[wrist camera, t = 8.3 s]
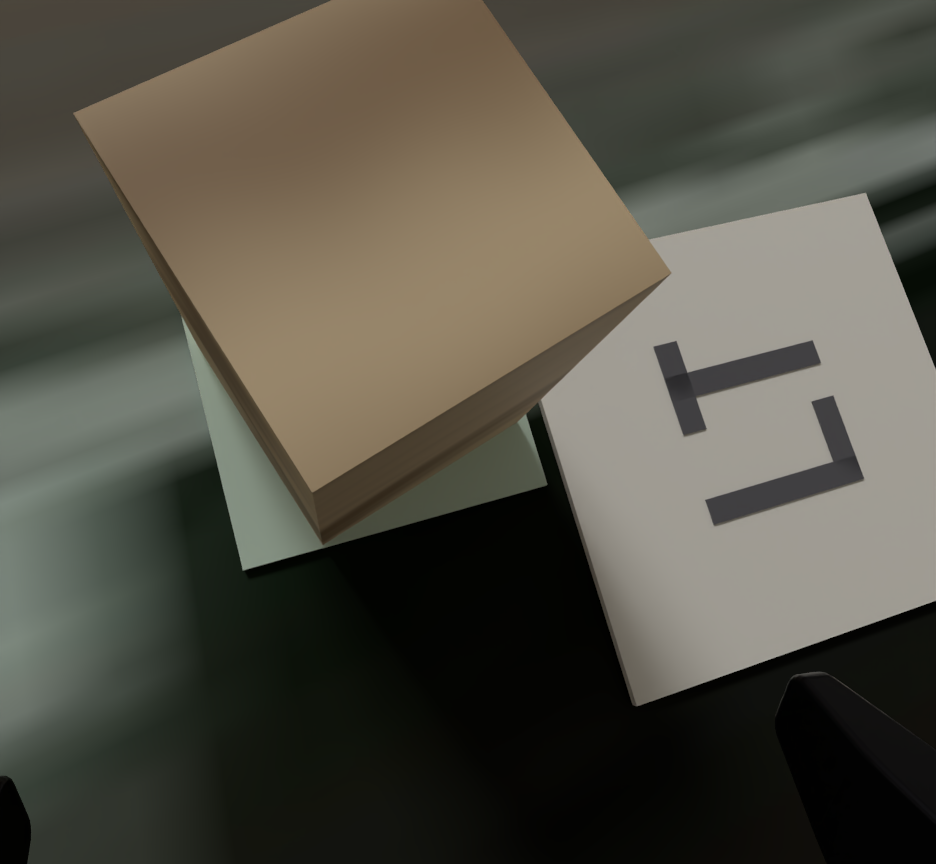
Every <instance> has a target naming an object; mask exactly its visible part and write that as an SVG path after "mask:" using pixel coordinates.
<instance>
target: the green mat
mask: <svg viewBox="0 0 936 864" xmlns="http://www.w3.org/2000/svg"><path fill="white" fill-rule="evenodd" d="M182 320H183V325H184V329H185V333H186V337H187V341H188V345H189V349H190V353H191V358H192V362H193V366H194V370H195V374H196V378H197V382H198V386H199V391H200V395H201V399H202V403H203V407H204V411H205V415H206V419H207V424H208V428H209V432H210V436H211V440H212V444H213V448H214V452H215V457H216V461H217V465H218V469H219V473H220V477H221V481H222V485H223V490H224V494H225V498H226V502H227V506H228V510H229V514H230V518H231V523H232V527H233V531H234V535H235V539H236V543H237V547H238V551H239V556H240V560H241V564H242V568H243V570H248V569H251V568H255V567H258V566H262V565H265V564H269V563H273V562H276V561H280V560H283V559H287V558H290V557H294V556H297V555H301V554H305V553H308V552H312V551H315V550H319V549H322V548H326V547H330V546H333V545H337V544H340V543H344V542H347V541H351V540H355V539H358V538H362V537H365V536H369V535H372V534H376V533H380V532H383V531H387V530H390V529H394V528H397V527H401V526H404V525H408V524H412V523H415V522H419V521H422V520H426V519H429V518H433V517H437V516H440V515H444V514H447V513H451V512H454V511H458V510H462V509H465V508H469V507H472V506H476V505H479V504H483V503H486V502H490V501H494V500H497V499H501V498H504V497H508V496H511V495H515V494H519V493H522V492H526V491H529V490H533V489H536V488H540V487H544V486H546V485H547V482H546V478H545V475H544V472H543V469H542V465H541V462H540V459H539V456H538V452H537V449H536V446H535V443H534V439H533V436H532V433H531V430H530V426H529V423H528V420H527V417H526V414H525V415H524V416H523V417H522V418H521V419H520V420H519V421H518V422H517V423H515V424H514V425H512V426H510V427H509V428H507V429H506V430H504V431H503V432H501V433H499V434H498V435H496V436H495V437H493V438H491V439H490V440H488V441H487V442H485V443H484V444H482V445H480V446H479V447H477V448H476V449H474V450H472V451H471V452H469V453H468V454H466V455H465V456H463V457H461V458H460V459H458V460H457V461H455V462H453V463H452V464H450V465H449V466H447V467H446V468H444V469H442V470H441V471H439V472H438V473H436V474H435V475H433V476H431V477H430V478H428V479H427V480H425V481H423V482H422V483H420V484H419V485H417V486H416V487H414V488H412V489H411V490H409V491H408V492H406V493H404V494H403V495H401V496H400V497H398V498H397V499H395V500H393V501H392V502H390V503H389V504H387V505H386V506H384V507H382V508H381V509H379V510H378V511H376V512H374V513H373V514H371V515H370V516H368V517H367V518H365V519H363V520H362V521H360V522H359V523H357V524H355V525H354V526H352V527H351V528H349V529H348V530H346V531H344V532H343V533H341V534H340V535H338V536H337V537H335V538H333V539H332V540H330V541H329V542H327V543H325V544H324V545H322V543H321V542H320V540H319V539H318V537H317V535H316V534H315V532H314V531H313V529H312V527H311V526H310V524H309V523H308V521H307V519H306V518H305V516H304V515H303V513H302V511H301V510H300V508H299V507H298V505H297V504H296V502H295V500H294V499H293V497H292V496H291V494H290V492H289V491H288V489H287V488H286V486H285V484H284V483H283V481H282V480H281V478H280V476H279V475H278V473H277V472H276V470H275V468H274V467H273V465H272V464H271V462H270V460H269V459H268V457H267V456H266V454H265V452H264V451H263V449H262V448H261V446H260V445H259V443H258V441H257V440H256V438H255V437H254V435H253V433H252V432H251V430H250V429H249V427H248V425H247V424H246V422H245V421H244V419H243V417H242V416H241V414H240V413H239V411H238V409H237V408H236V406H235V405H234V403H233V401H232V400H231V398H230V397H229V395H228V394H227V392H226V390H225V389H224V387H223V386H222V384H221V382H220V381H219V379H218V378H217V376H216V374H215V373H214V371H213V370H212V368H211V366H210V365H209V363H208V362H207V360H206V358H205V357H204V355H203V354H202V352H201V350H200V349H199V347H198V346H197V344H196V342H195V340H194V338H193V336H192V334H191V333H190V331H189V329H188V327H187V325H186V323H185V321H184V319H183V318H182Z"/></svg>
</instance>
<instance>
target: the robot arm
mask: <svg viewBox="0 0 936 864" xmlns="http://www.w3.org/2000/svg"><path fill="white" fill-rule="evenodd" d="M775 729H776V733H777V737H778V740H779V742H780V745H781V747H782V750H783V753H784V755H785V758H786V761H787V763H788V766H789V768H790V771H791V774H792V776H793V779H794V782H795V784H796V787H797V789H798V792H799V795H800V797H801V800H802V803H803V805H804V808H805V810H806V813H807V816H808V818H809V821H810V823H811V826H812V829H813V831H814V834H815V837H816V839H817V841H818V844H819V846H820V849H821V851H822V853H823V856H824V858H825V860H826V862H827V864H936V750H935V749H934V748H932V747H931V746H930V745H928V744H927V743H925V742H924V741H923V740H921V739H920V738H918V737H917V736H916V735H914V734H913V733H911V732H910V731H909V730H907V729H906V728H904V727H903V726H902V725H900V724H899V723H897V722H896V721H894V720H893V719H892V718H890V717H889V716H887V715H886V714H885V713H883V712H882V711H880V710H879V709H878V708H876V707H875V706H873V705H872V704H871V703H869V702H868V701H866V700H865V699H864V698H862V697H861V696H859V695H858V694H857V693H855V692H854V691H852V690H851V689H850V688H848V687H847V686H845V685H844V684H843V683H841V682H840V681H838V680H837V679H836V678H834V677H833V676H831V675H829V674H827V673H824V672H813V673H805V674H797V675H795V676H793V677H792V678H791V679H790V681H789V682H788V685H787V687H786V690H785V692H784V695H783V698H782V700H781V703H780V705H779V708H778V710H777V713H776V716H775ZM30 841H31V825H30V820H29V817H28V814H27V812H26V810H25V807H24V805H23V803H22V800H21V798H20V796H19V793H18V791H17V789H16V786H15V784H14V782H13V781H12V779H11V778H9V777H7V776H0V864H27V861H28V855H29V848H30Z"/></svg>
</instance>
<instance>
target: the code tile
mask: <svg viewBox="0 0 936 864" xmlns="http://www.w3.org/2000/svg"><path fill="white" fill-rule="evenodd" d="M649 241H650V242H651V244H652V245H653V247H654V248H655V250H656V251H657V253H658V254H659V255H660V257H661V258H662V260H663V261H664V263H665V264H666V266H667V267H668V268H669V270H670V271H671V274H670V275H669V276H668V277H667V278H666V279H665V280H664V281H663V282H662V283H661V284H660V285H659V286H658V287H657V288H656V289H655V290H654V291H653V292H652V293H651V294H650V295H648V296H647V297H646V298H645V299H644V300H643V301H642V302H641V303H640V304H639V305H638V306H637V307H636V308H635V309H634V310H633V311H632V312H631V313H630V314H629V315H628V316H627V317H626V318H625V319H624V320H623V321H622V322H621V323H619V324H618V325H617V326H616V327H615V328H614V329H613V330H612V331H611V332H610V333H609V334H608V335H607V336H606V337H605V338H604V339H603V340H602V341H601V342H600V343H599V344H598V345H597V346H596V347H595V348H594V349H593V350H592V351H590V352H589V353H588V354H587V355H586V356H585V357H584V358H583V359H582V360H581V361H580V362H579V363H578V364H577V365H576V366H575V367H574V368H573V369H572V370H571V371H570V372H569V373H568V374H567V375H566V376H565V377H564V378H563V379H561V380H560V381H559V382H558V383H557V384H556V385H555V386H554V387H553V388H552V389H551V390H550V391H549V392H548V393H547V394H546V395H545V396H544V397H543V398H542V399H541V400H540V401H539V402H538V403H539V406H540V409H541V413H542V416H543V419H544V422H545V426H546V429H547V432H548V435H549V438H550V442H551V445H552V448H553V451H554V454H555V458H556V461H557V464H558V467H559V470H560V474H561V477H562V480H563V483H564V487H565V490H566V493H567V496H568V499H569V503H570V506H571V509H572V512H573V515H574V519H575V522H576V525H577V528H578V531H579V535H580V538H581V541H582V544H583V547H584V551H585V554H586V557H587V560H588V564H589V567H590V570H591V573H592V576H593V580H594V583H595V586H596V589H597V592H598V596H599V599H600V602H601V605H602V608H603V612H604V615H605V618H606V621H607V625H608V628H609V631H610V634H611V637H612V641H613V644H614V647H615V650H616V653H617V657H618V660H619V663H620V666H621V669H622V673H623V676H624V679H625V682H626V686H627V689H628V692H629V695H630V698H631V702H632V705H634V706H640V705H642V704H645V703H648V702H651V701H654V700H656V699H659V698H662V697H665V696H668V695H671V694H673V693H676V692H679V691H682V690H685V689H688V688H690V687H693V686H696V685H699V684H702V683H705V682H707V681H710V680H713V679H716V678H719V677H721V676H724V675H727V674H730V673H733V672H736V671H738V670H741V669H744V668H747V667H750V666H753V665H755V664H758V663H761V662H764V661H767V660H770V659H772V658H775V657H778V656H781V655H784V654H786V653H789V652H792V651H795V650H798V649H801V648H803V647H806V646H809V645H812V644H815V643H818V642H820V641H823V640H826V639H829V638H832V637H835V636H837V635H840V634H843V633H846V632H849V631H851V630H854V629H857V628H860V627H863V626H866V625H868V624H871V623H874V622H877V621H880V620H883V619H885V618H888V617H891V616H894V615H897V614H900V613H902V612H905V611H908V610H911V609H914V608H916V607H919V606H922V605H925V604H928V603H931V602H933V601H936V369H935V367H934V364H933V362H932V359H931V357H930V354H929V352H928V349H927V347H926V344H925V342H924V339H923V337H922V334H921V332H920V329H919V326H918V324H917V321H916V319H915V316H914V314H913V311H912V309H911V306H910V304H909V301H908V299H907V296H906V294H905V291H904V289H903V286H902V284H901V281H900V278H899V276H898V273H897V271H896V268H895V266H894V263H893V261H892V258H891V256H890V253H889V251H888V248H887V246H886V243H885V241H884V238H883V236H882V233H881V230H880V228H879V225H878V223H877V220H876V218H875V215H874V213H873V210H872V208H871V205H870V203H869V200H868V198H867V195H866V193H863V194H859V195H854V196H849V197H845V198H840V199H836V200H831V201H826V202H822V203H817V204H812V205H808V206H803V207H798V208H794V209H789V210H784V211H780V212H775V213H771V214H766V215H761V216H757V217H752V218H747V219H743V220H738V221H733V222H729V223H724V224H719V225H715V226H710V227H706V228H701V229H696V230H692V231H687V232H682V233H678V234H673V235H668V236H664V237H659V238H654V239H650V240H649Z"/></svg>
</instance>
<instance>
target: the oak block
mask: <svg viewBox="0 0 936 864" xmlns="http://www.w3.org/2000/svg"><path fill="white" fill-rule="evenodd" d="M73 114H74V116H75V118H76V120H77V121H78V123H79V125H80V127H81V129H82V131H83V133H84V134H85V136H86V138H87V140H88V142H89V144H90V146H91V148H92V149H93V151H94V153H95V155H96V157H97V159H98V161H99V163H100V164H101V166H102V168H103V170H104V172H105V174H106V176H107V177H108V179H109V181H110V183H111V185H112V187H113V189H114V191H115V192H116V194H117V196H118V198H119V200H120V202H121V204H122V205H123V207H124V209H125V211H126V213H127V215H128V217H129V219H130V220H131V222H132V224H133V226H134V228H135V230H136V232H137V234H138V235H139V237H140V239H141V241H142V243H143V245H144V247H145V248H146V250H147V252H148V254H149V256H150V258H151V260H152V262H153V263H154V265H155V267H156V269H157V271H158V273H159V275H160V276H161V278H162V280H163V282H164V284H165V286H166V288H167V290H168V291H169V293H170V295H171V297H172V299H173V301H174V303H175V305H176V306H177V308H178V310H179V312H180V314H181V316H182V318H183V319H184V321H185V323H186V325H187V327H188V329H189V331H190V333H191V334H192V336H193V338H194V340H195V342H196V344H197V346H198V347H199V349H200V350H201V352H202V354H203V355H204V357H205V358H206V360H207V362H208V363H209V365H210V366H211V368H212V370H213V371H214V373H215V374H216V376H217V378H218V379H219V381H220V382H221V384H222V386H223V387H224V389H225V390H226V392H227V394H228V395H229V397H230V398H231V400H232V401H233V403H234V405H235V406H236V408H237V409H238V411H239V413H240V414H241V416H242V417H243V419H244V421H245V422H246V424H247V425H248V427H249V429H250V430H251V432H252V433H253V435H254V437H255V438H256V440H257V441H258V443H259V445H260V446H261V448H262V449H263V451H264V452H265V454H266V456H267V457H268V459H269V460H270V462H271V464H272V465H273V467H274V468H275V470H276V472H277V473H278V475H279V476H280V478H281V480H282V481H283V483H284V484H285V486H286V488H287V489H288V491H289V492H290V494H291V496H292V497H293V499H294V500H295V502H296V504H297V505H298V507H299V508H300V510H301V511H302V513H303V515H304V516H305V518H306V519H307V521H308V523H309V524H310V526H311V527H312V529H313V531H314V532H315V534H316V535H317V537H318V539H319V540H320V542H321V543H322V545H324V544H325V543H327V542H329V541H330V540H332V539H333V538H335V537H337V536H338V535H340V534H341V533H343V532H344V531H346V530H348V529H349V528H351V527H352V526H354V525H355V524H357V523H359V522H360V521H362V520H363V519H365V518H367V517H368V516H370V515H371V514H373V513H374V512H376V511H378V510H379V509H381V508H382V507H384V506H386V505H387V504H389V503H390V502H392V501H393V500H395V499H397V498H398V497H400V496H401V495H403V494H404V493H406V492H408V491H409V490H411V489H412V488H414V487H416V486H417V485H419V484H420V483H422V482H423V481H425V480H427V479H428V478H430V477H431V476H433V475H435V474H436V473H438V472H439V471H441V470H442V469H444V468H446V467H447V466H449V465H450V464H452V463H453V462H455V461H457V460H458V459H460V458H461V457H463V456H465V455H466V454H468V453H469V452H471V451H472V450H474V449H476V448H477V447H479V446H480V445H482V444H484V443H485V442H487V441H488V440H490V439H491V438H493V437H495V436H496V435H498V434H499V433H501V432H503V431H504V430H506V429H507V428H509V427H510V426H512V425H514V424H515V423H517V422H518V421H519V420H520V419H521V418H522V417H523V416H524V415H525V414H526V413H527V412H528V411H529V410H530V409H531V408H533V407H534V406H535V405H536V404H537V403H538V402H539V401H540V400H541V399H542V398H543V397H544V396H545V395H546V394H547V393H548V392H549V391H550V390H551V389H552V388H553V387H554V386H555V385H556V384H557V383H558V382H559V381H560V380H561V379H563V378H564V377H565V376H566V375H567V374H568V373H569V372H570V371H571V370H572V369H573V368H574V367H575V366H576V365H577V364H578V363H579V362H580V361H581V360H582V359H583V358H584V357H585V356H586V355H587V354H588V353H589V352H590V351H592V350H593V349H594V348H595V347H596V346H597V345H598V344H599V343H600V342H601V341H602V340H603V339H604V338H605V337H606V336H607V335H608V334H609V333H610V332H611V331H612V330H613V329H614V328H615V327H616V326H617V325H618V324H619V323H621V322H622V321H623V320H624V319H625V318H626V317H627V316H628V315H629V314H630V313H631V312H632V311H633V310H634V309H635V308H636V307H637V306H638V305H639V304H640V303H641V302H642V301H643V300H644V299H645V298H646V297H647V296H648V295H650V294H651V293H652V292H653V291H654V290H655V289H656V288H657V287H658V286H659V285H660V284H661V283H662V282H663V281H664V280H665V279H666V278H667V277H668V276H669V275H670V274H671V271H670V270H669V268H668V267H667V266H666V264H665V263H664V261H663V260H662V258H661V257H660V255H659V254H658V253H657V251H656V250H655V248H654V247H653V245H652V244H651V242H650V241H649V240H648V238H647V237H646V235H645V234H644V232H643V231H642V230H641V228H640V227H639V225H638V224H637V222H636V221H635V219H634V218H633V217H632V215H631V214H630V212H629V211H628V209H627V208H626V206H625V205H624V204H623V202H622V201H621V199H620V198H619V196H618V195H617V194H616V192H615V191H614V189H613V188H612V186H611V185H610V183H609V182H608V181H607V179H606V178H605V176H604V175H603V173H602V172H601V171H600V169H599V168H598V166H597V165H596V163H595V162H594V160H593V159H592V158H591V156H590V155H589V153H588V152H587V150H586V149H585V147H584V146H583V145H582V143H581V142H580V140H579V139H578V137H577V136H576V135H575V133H574V132H573V130H572V129H571V127H570V126H569V124H568V123H567V122H566V120H565V119H564V117H563V116H562V114H561V113H560V111H559V110H558V109H557V107H556V106H555V104H554V103H553V101H552V100H551V99H550V97H549V96H548V94H547V93H546V91H545V90H544V88H543V87H542V86H541V84H540V83H539V81H538V80H537V78H536V77H535V76H534V74H533V73H532V71H531V70H530V68H529V67H528V65H527V64H526V63H525V61H524V60H523V58H522V57H521V55H520V54H519V52H518V51H517V50H516V48H515V47H514V45H513V44H512V42H511V41H510V40H509V38H508V37H507V35H506V34H505V32H504V31H503V29H502V28H501V27H500V25H499V24H498V22H497V21H496V19H495V18H494V16H493V15H492V14H491V12H490V11H489V9H488V8H487V6H486V5H485V4H484V2H483V1H482V0H331V1H329V2H327V3H325V4H322V5H320V6H318V7H315V8H313V9H311V10H308V11H306V12H304V13H302V14H299V15H297V16H295V17H292V18H290V19H288V20H286V21H283V22H281V23H279V24H276V25H274V26H272V27H270V28H267V29H265V30H263V31H260V32H258V33H256V34H254V35H251V36H249V37H247V38H244V39H242V40H240V41H238V42H235V43H233V44H231V45H228V46H226V47H224V48H222V49H219V50H217V51H215V52H212V53H210V54H208V55H205V56H203V57H201V58H199V59H196V60H194V61H192V62H189V63H187V64H185V65H183V66H180V67H178V68H176V69H173V70H171V71H169V72H167V73H164V74H162V75H160V76H157V77H155V78H153V79H151V80H148V81H146V82H144V83H141V84H139V85H137V86H135V87H132V88H130V89H128V90H125V91H123V92H121V93H119V94H116V95H114V96H112V97H109V98H107V99H105V100H102V101H100V102H98V103H96V104H93V105H91V106H89V107H86V108H84V109H82V110H80V111H77V112H75V113H73Z"/></svg>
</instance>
